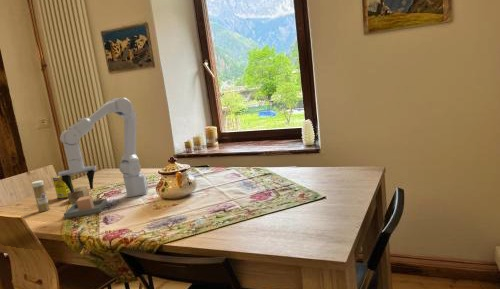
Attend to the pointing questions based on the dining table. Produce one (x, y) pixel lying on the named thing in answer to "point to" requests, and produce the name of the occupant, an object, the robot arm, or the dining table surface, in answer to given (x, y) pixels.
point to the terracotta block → (85, 203)
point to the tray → (97, 208)
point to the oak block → (78, 193)
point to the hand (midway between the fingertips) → (82, 190)
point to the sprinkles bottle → (40, 195)
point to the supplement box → (61, 188)
